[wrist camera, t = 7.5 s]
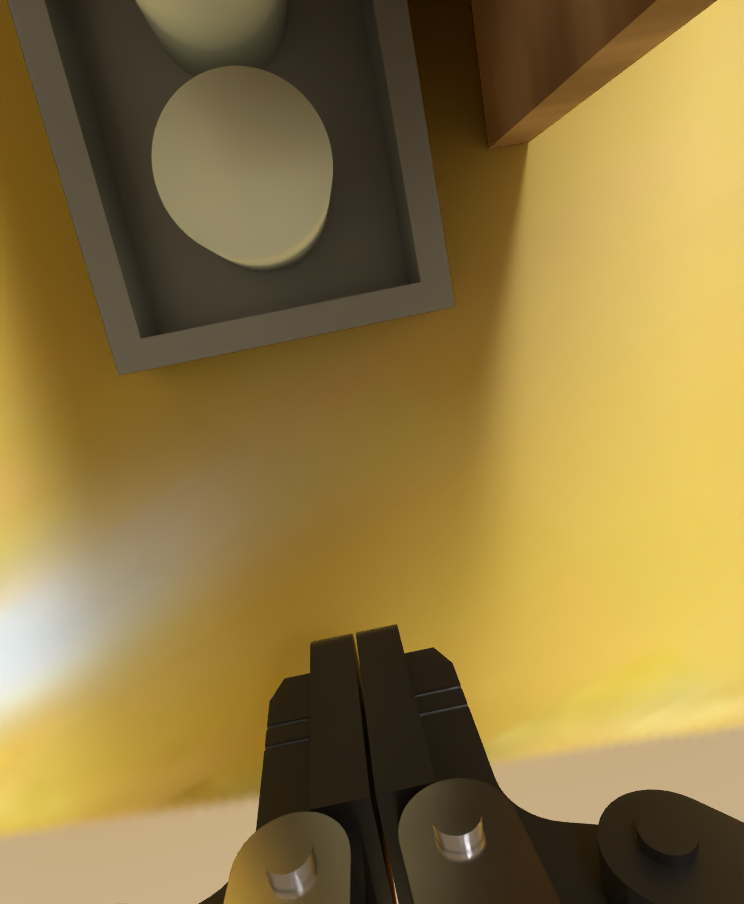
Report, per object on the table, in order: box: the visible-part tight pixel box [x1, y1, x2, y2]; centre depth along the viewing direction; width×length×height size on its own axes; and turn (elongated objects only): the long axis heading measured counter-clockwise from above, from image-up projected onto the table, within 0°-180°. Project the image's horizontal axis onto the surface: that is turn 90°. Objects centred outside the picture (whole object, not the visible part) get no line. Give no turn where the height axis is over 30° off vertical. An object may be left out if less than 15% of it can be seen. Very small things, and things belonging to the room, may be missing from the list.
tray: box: [7, 0, 455, 375], centre depth 16 cm, size 12×9×3 cm
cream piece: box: [151, 66, 333, 272], centre depth 15 cm, size 4×4×5 cm
